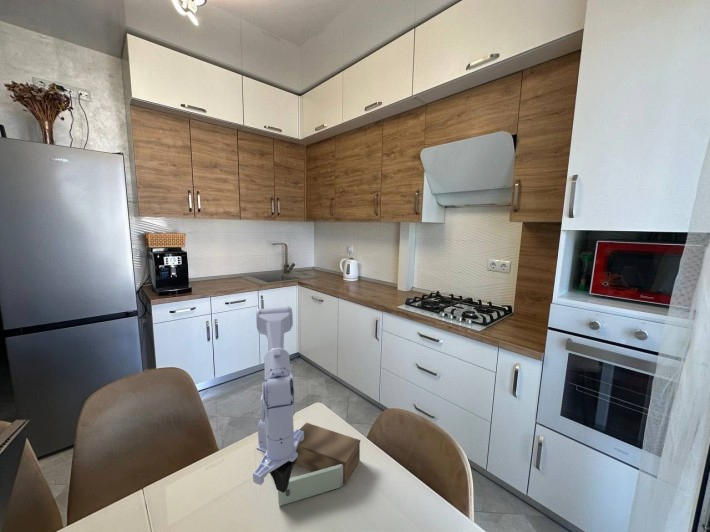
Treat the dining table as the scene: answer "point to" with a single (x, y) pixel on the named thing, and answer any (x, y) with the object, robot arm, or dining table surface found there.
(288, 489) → the door
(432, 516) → the dining table surface
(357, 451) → the cabinet
